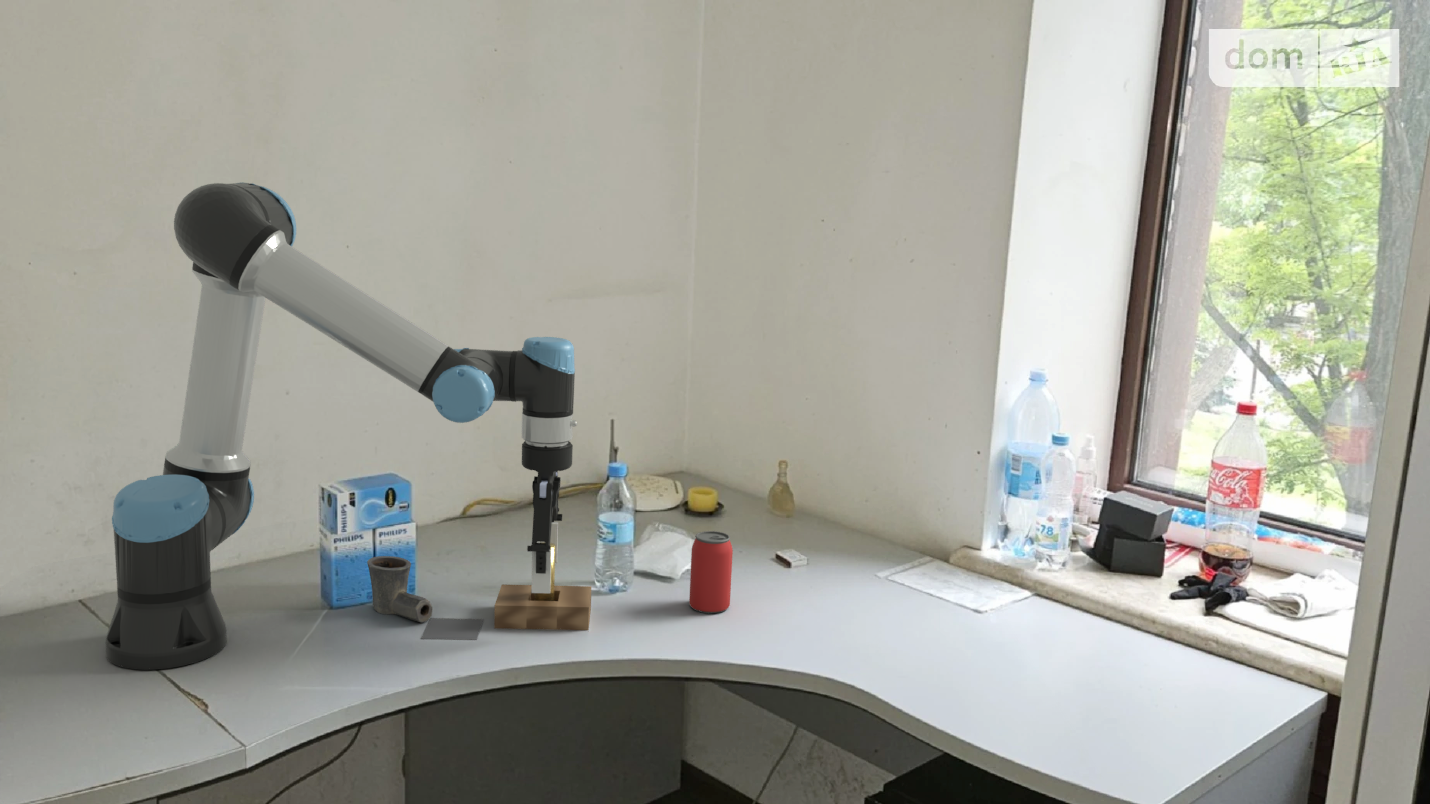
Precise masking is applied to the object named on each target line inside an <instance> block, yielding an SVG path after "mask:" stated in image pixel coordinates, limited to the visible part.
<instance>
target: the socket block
mask: <svg viewBox="0 0 1430 804" xmlns="http://www.w3.org/2000/svg"><path fill="white" fill-rule="evenodd" d="M499 588H500V589H499V591H498V594H497V596H496V597H497V598H496V600H495V603H494V614H493V615H494V617H493V619H494V620H493V621H494V625H493V626H494V627H493V628H494V629H506V630H507V629H508V630H510V629H511V630H512V629H513V630H552V631H554V630H555V631H556V630H558V631H559V630H561V631H565V630H566V631H589V628H590V621H591V610H592V586H591V585H590V586H589V585H588V586H587V585H582V586H581V585H579V586H578V585H554V601H534V598H535V593H531V590H532V584H501V586H500V587H499Z"/></svg>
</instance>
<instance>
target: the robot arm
mask: <svg viewBox="0 0 1430 804" xmlns="http://www.w3.org/2000/svg"><path fill="white" fill-rule="evenodd" d="M173 229H174V236H175V239H176V241H177V243H178V246H179V247H180V249H181V250H182V252H183V253H184V255H185V256H186V257H188V259H190V260H191V262H192V267H191V268H192V269H191V270H192V271H191V272H192V273H193V275H194V276H195V277H196V278H197V279H198V281H199V282H200V285H201V289H200V296H199V302H198V303H199V304H198V309H197V316H196V322H195V323H196V325H195V331H194V337H193V345H192V351H191V359H190V364H189V372H188V379H187V385H186V392H185V400H184V407H183V412H182V421H181V427H180V428H181V429H180V435H179V441H178V443H177V445H175V446H174V447H172V448H170V449H169V450H168V451H166V452H165V455H164V465H163V470H162V474H161V475H154V476H149V477H147V478H146V479H138V480H135V481H133V482H131V483H129V484H127V485H126V486H124V487H122V488H121V489H120V490H119V491H118V492H117V494H116V495H115V497H114V500H113V512H112V516H111V524H112V528H113V539H114V540H113V541H114V555H115V571H116V572H115V573H116V589H117V590H116V591H117V602H116V605H115V609H114V611H113V614H112V618H111V621H110V624H109V628H108V631H107V635H106V636H105V655H106V657H105V658H106V659H107V660H108V661H109V662H110V663H111V664H112V665H115V666H117V667H121V668H123V669H124V668H126V669H131V670H146V671H147V670H148V671H149V670H153V671H154V670H164V669H173V668H179V667H183V666H187V665H191V664H195V663H198V662H202V661H203V660H206V659H208V658H210V657H213V656H214V655H216V654H218V653H219V652H220V651H222V650H223V649H224V648H225V646H226V645H227V641H228V640H227V626H226V622H225V620H224V617H223V616H222V613H221V610H220V608H219V606H218V603H217V601H216V598H215V596H214V593H213V592H212V585H211V584H212V580H211V579H212V577H211V573H212V572H211V552H212V551H213V550H214V549H216V548H217V547H218V546H220V544H222V543H223V542H225V541H226V540H227V539H228V538H230V537H231V536H233V535H234V534H235V533H237V532H238V531H239V530H240V529H241V528H242V527H243V526H244V525H245V523H246V520H247V519H248V517H249V516H250V514H251V512H252V510H253V505H254V503H255V490H254V486H253V483H252V481H251V479H250V477H249V476H250V470H251V460H250V459H249V457H248V456H247V455H246V453H244V451H243V445H244V441H245V440H244V437H245V433H246V432H245V431H246V426H247V419H248V413H249V407H250V402H251V401H250V400H251V395H252V394H251V393H252V388H253V381H254V374H255V370H256V367H255V366H256V361H257V355H258V348H259V342H260V338H261V337H260V335H261V330H262V323H263V316H264V312H265V303H266V299H267V300H269V302H270V301H271V302H272V303H274V305H276V306H278V307H280V308H282V309H283V310H285V311H286V312H288V313H289V314H291V315H293V316H294V317H296V318H298V319H299V320H301V321H303V322H304V323H305V324H307V325H309V326H310V327H312V328H314V329H315V330H316V331H319V332H320V333H322V334H324V335H325V336H327V337H328V338H330V339H332V340H333V341H335V342H336V343H338V344H339V345H342V346H343V347H344V348H347V349H348V350H349V351H351V352H352V353H354V354H356V355H357V356H359V357H361V358H362V359H364V360H366V361H368V362H369V363H370V364H372V365H374V366H376V367H377V368H379V369H380V370H381V371H383V372H385V373H386V374H388V375H390V376H392V377H393V378H395V379H396V380H398V381H400V382H402V383H403V384H404V385H406V386H408V387H409V388H411V389H412V390H414V391H416V392H417V393H419V394H421V395H422V396H424V397H425V398H427V399H428V400H430V401H431V402H433V405H434V406H435V409H436V410H437V412H438V413H439V415H441V416H442V417H443V418H445V419H446V420H447V421H451V422H453V423H457V424H461V423H462V424H463V423H470V422H473V421H475V420H477V419H478V418H479V417H481V416H483V415H484V414H485V413H486V412H487V411H489V410H490V408H491V407H492V405H493V402H515V403H516V402H522V411H521V439H523V443H522V444H521V465H522V466H523V468H524V469H526V470H528V471H535V472H536V473H537V476H534V477H533V481H532V485H531V486H532V488H531V489H532V493H533V495H532V508H533V513H532V514H533V515H532V517H533V518H532V531H531V532H532V535H531V545H527V548H526V551H527V552H531V585H532V590H531V593H550V586H551V546H550V543H553V544H555V564H557V563H558V535H559V533H558V532H559V530H558V529H559V522H562V521H563V514H562V513H559V512H560V508H559V497H560V488H561V482H562V481H561V477H559V472H562V471H563V472H564V471H566V470H569V469H570V468H571V467H572V465H573V450H574V449H573V444H572V442H571V440H573V437H574V436H573V427H577V426H578V422H577V420H575V419H573V418H574V404H575V403H574V400H575V399H574V397H575V373H576V369H575V348H574V345H573V343H572V342H571V341H570V340H568V339H566V338H561V337H557V336H556V337H553V336H534V337H529V338H526V339H524V341H523V344H522V345H523V346H522V348H521V349H520V350H495V349H477V348H470V347H463V348H452V347H451V346H450V345H448V344H447V343H445V342H443V341H441V340H440V339H439V338H437V337H436V336H434V335H432V334H431V333H429V332H428V331H426V330H424V329H423V328H421V327H419V325H417V324H415V323H414V322H411V321H410V320H409V319H407V318H405V317H404V316H403V315H400V314H399V313H398V312H396V311H394V310H392V308H390V307H388V306H386V305H385V304H383V303H382V302H380V301H379V300H377V299H376V298H374V297H372V296H371V295H369V294H367V293H366V292H364V291H363V290H361V289H360V288H358V287H356V286H355V285H353V284H352V283H351V282H349V281H347V280H346V279H344V278H342V277H341V276H340V275H337V274H335V272H333V271H331V270H329V269H328V268H327V267H325V266H323V265H321V263H319V262H317V261H315V260H314V259H312V258H311V257H309V256H308V255H307V254H304V253H303V252H301V251H299V250H298V249H296V248H295V247H293V246H294V243H295V241H296V237H297V222H296V218H295V215H294V212H293V210H292V208H291V207H290V205H289V204H288V203H287V202H286V200H285V199H284V198H283V197H282V196H281V195H280V194H279V193H277V192H275V191H273V189H270V188H267V187H265V186H261V185H258V184H256V183H253V182H252V183H249V182H235V183H223V182H221V183H219V182H214V183H208V184H204V185H201V186H198V187H197V188H194V189H193V190H191V191H190V192H189V193H187V194H186V195H185V197H183V198H182V200H181V201H180V203H179V204H178V205H177V208H176V211H175V214H174V219H173ZM572 419H573V420H572Z"/></svg>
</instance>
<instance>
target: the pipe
mask: <svg viewBox="0 0 1430 804" xmlns="http://www.w3.org/2000/svg"><path fill="white" fill-rule="evenodd" d="M366 563H367V567H368V572H369V578H370V584H371V592H372V594H371V595H372V596H371V597H372V606H373V607H372V608H373V609H374V611H375V612H377V613H379V614H381V615H396V616H399V617H402V618H404V619H407V620H410V621H414V622H418V623H426V622H429V621H430V619H431V618H432V615H433V606H432V603H431V601H430V600H428V599H427V598H425V597H423V596H420V595H415V594H411V593H409V592H408V584H409V577H410V570H411V567H412V563H411V561H410V560H408V559H405V558H403V557H399V556H393V555H392V556H390V555H389V556H388V555H379V556H374V557H370V558H369V559H368V560H367V562H366Z"/></svg>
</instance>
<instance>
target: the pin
mask: <svg viewBox="0 0 1430 804" xmlns="http://www.w3.org/2000/svg"><path fill="white" fill-rule="evenodd" d="M550 546H551V586H550V593H535V598H534V601H554V586H556V584H555V583H556V582H555V580H556V579H555V578H556V577H555V575H556V574H555V573H556V563H555V544H553V543H550Z"/></svg>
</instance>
